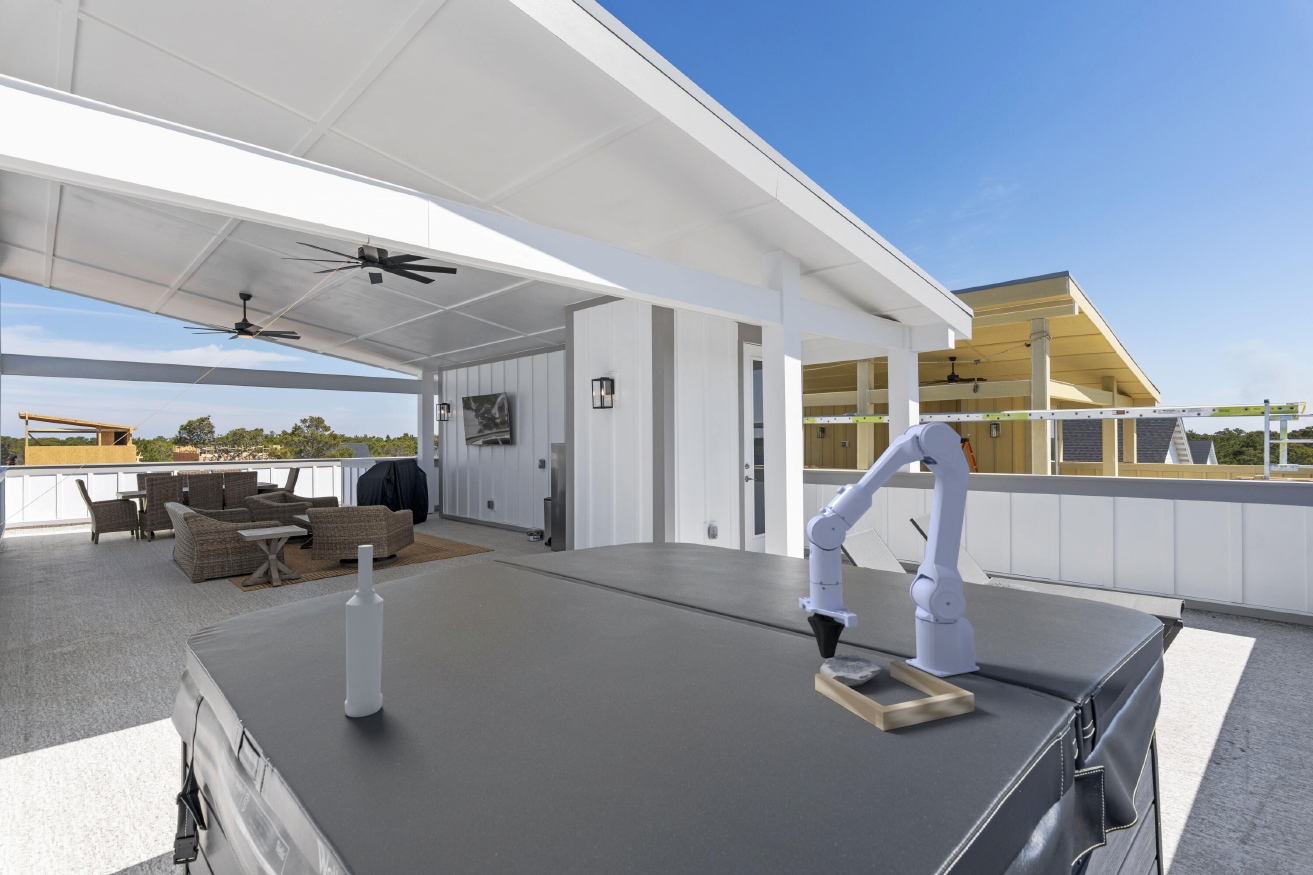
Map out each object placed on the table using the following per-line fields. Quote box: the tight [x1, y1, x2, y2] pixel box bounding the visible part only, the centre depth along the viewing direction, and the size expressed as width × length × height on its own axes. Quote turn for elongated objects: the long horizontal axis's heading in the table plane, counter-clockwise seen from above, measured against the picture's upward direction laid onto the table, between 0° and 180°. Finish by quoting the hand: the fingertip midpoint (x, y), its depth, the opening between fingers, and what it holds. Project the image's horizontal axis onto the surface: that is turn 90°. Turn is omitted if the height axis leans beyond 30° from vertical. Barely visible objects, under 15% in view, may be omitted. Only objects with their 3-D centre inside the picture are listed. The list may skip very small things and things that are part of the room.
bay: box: [814, 660, 976, 732], centre depth 89 cm, size 17×16×2 cm
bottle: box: [344, 544, 385, 718], centre depth 88 cm, size 5×5×25 cm
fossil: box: [819, 654, 882, 688], centre depth 98 cm, size 11×4×10 cm
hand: (827, 656), depth 104 cm, fingers closed
